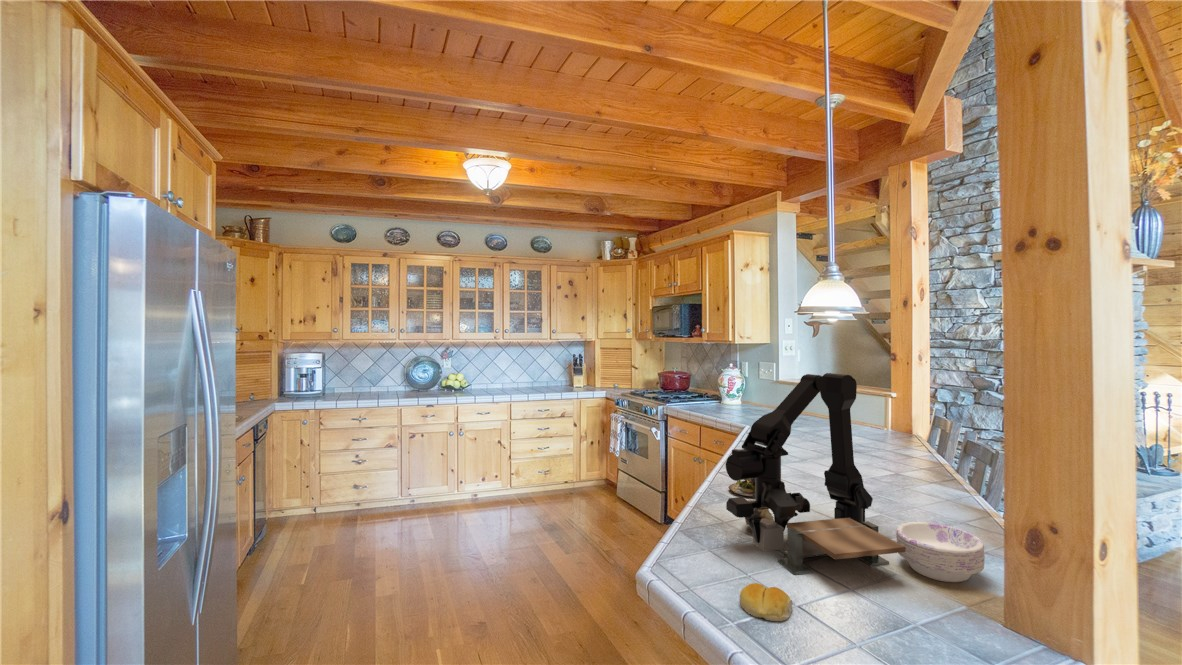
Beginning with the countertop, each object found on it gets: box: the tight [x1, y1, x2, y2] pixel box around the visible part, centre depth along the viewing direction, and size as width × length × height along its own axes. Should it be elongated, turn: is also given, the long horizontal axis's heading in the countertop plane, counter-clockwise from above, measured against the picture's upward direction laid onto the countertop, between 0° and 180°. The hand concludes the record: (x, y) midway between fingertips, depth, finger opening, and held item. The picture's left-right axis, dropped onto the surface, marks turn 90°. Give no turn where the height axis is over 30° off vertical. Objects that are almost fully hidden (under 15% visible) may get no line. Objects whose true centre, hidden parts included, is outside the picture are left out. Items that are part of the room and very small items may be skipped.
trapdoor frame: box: [777, 520, 890, 576], centre depth 111 cm, size 23×8×8 cm, turn 102°
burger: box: [728, 478, 755, 497], centre depth 157 cm, size 12×12×8 cm
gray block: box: [752, 518, 785, 552], centre depth 119 cm, size 5×5×6 cm
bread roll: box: [739, 582, 793, 622], centre depth 92 cm, size 8×9×4 cm
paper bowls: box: [895, 521, 986, 583], centre depth 106 cm, size 15×15×8 cm
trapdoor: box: [786, 518, 906, 560], centre depth 107 cm, size 16×16×6 cm
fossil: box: [744, 499, 774, 526], centre depth 129 cm, size 9×4×10 cm
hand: (767, 541), depth 119 cm, fingers closed on gray block, 5 cm apart
